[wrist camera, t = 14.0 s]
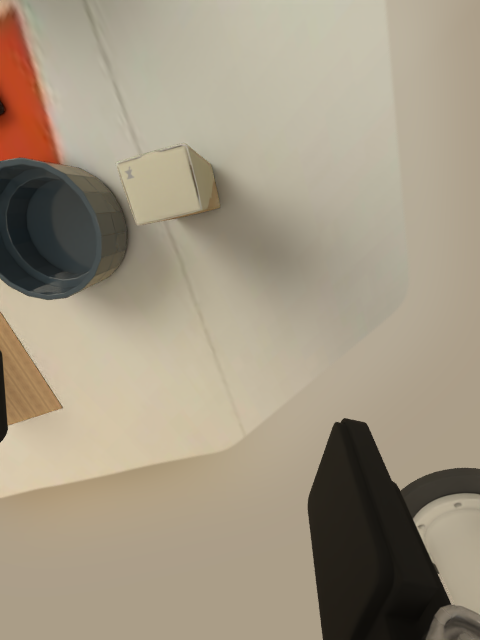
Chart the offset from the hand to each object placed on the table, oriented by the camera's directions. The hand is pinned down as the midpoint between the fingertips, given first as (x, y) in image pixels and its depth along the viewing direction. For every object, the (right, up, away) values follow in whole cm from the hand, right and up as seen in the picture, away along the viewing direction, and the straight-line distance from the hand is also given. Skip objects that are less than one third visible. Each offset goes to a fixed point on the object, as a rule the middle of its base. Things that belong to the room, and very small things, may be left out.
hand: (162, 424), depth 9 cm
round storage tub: (-15, +13, +25) cm, 32 cm away
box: (-2, +16, +23) cm, 28 cm away
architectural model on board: (-33, 0, +32) cm, 46 cm away
